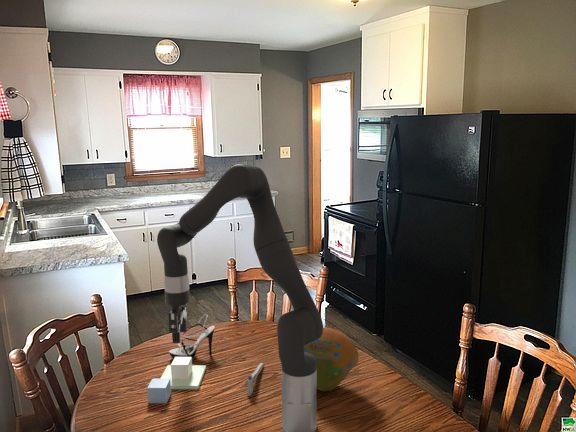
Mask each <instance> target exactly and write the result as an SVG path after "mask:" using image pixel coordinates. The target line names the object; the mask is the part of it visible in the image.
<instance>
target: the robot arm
mask: <svg viewBox="0 0 576 432" xmlns="http://www.w3.org/2000/svg"><path fill="white" fill-rule="evenodd" d="M268 180H269V179H268V178H267V176H266V174H265V172H264V171H263V169H262V168H260V167H259V166H257V165H253V164H246V163H243V164H242V163H237V164H234V165H232V166H231V167H230V168H228V169H227V170H226V171H225V173H223V175H222V176H221V177H220V178H219V179H218V181H217V182H216V183H215V184H214V185H213V186H212V188H211V189H210V190H209V191H208V192H207V193H206V194H205V196H203V197H202V198H201V199H200V200H199V201H198V202H197V203H195V204H194V205H193V206H192V207H191V208H189V209H188V210H187V211H186V212H185V213H183V214H182V215H181V217H180V218H179V222H177V223H176V224H173V225H168V226H165V227H162V228H161V229H160V230H158V233H157V237H156V241H157V242H156V243H157V247H158V249H159V253H160V256H161V260H162V261H163V269H164V278H163V279H164V283H163V284H164V286H163V287H164V299H165V301H164V302H165V304H166V305H167V306H170V307H171V310H170V312H169V313H168V315H167V316H168V332H169V333H171V338H172V343H173V344H179V343H180V344H181V333H184V332H185V333H186V332H187V331H186V330H187V329H188V328H187V320H188V317H189V313H188V312H189V311H188V309H189V308H188V304H189V303H190V301H191V296H190V295H191V293H190V278H189V272H188V260H187V257H186V256H185V255H184V254H181V253H180V254H179V251H178V248H180V247H183V246H185V245H187V244H189V243H190V242H191V241H192V240H193V239H194V238H195V237H196V235H197V234H198V233H199V232H201V231H202V230H204V229H205V228H206V227H208V226H209V225H210V224H212V223H213V221H214V220H215V218H217V216H218V214H219V212H220V210H221V209H222V208H223V207H224V206H225V205H226V204H228V203H229V202H231V201H233V200H236V199H238V198H240V199H246V200H247V202H248V204H249V206H250V209H251V212H252V215H253V219H254V220H253V221H254V222H253V223H254V226H253V227H254V228H253V247H254V252H255V253H256V255H257V258H258V261H259V264H260V266H261V268H262V270H263V272H264V273H265V274H266V275H267V276H268V277H269V278H270V279H271V280H272V281H273V282H275V284H276V285H277V286H279V287H280V288H281V289H282V290H283V291H284V293H285V294H286V296H287V297H288V299H289V302H290V304H291V306H292V309H293V310H290V311H288V312H285V313H283V314H282V315H280V316H279V318H278V321H277V327H276V333H277V348H278V356H279V360H280V364H281V411H282V412H281V417H282V419H281V421H282V425H281V427H282V428H281V429H282V431H283V432H316V431H317V424H318V423H317V421H318V420H317V417H318V415H317V410H318V409H317V403H318V402H317V399H318V398H317V394H318V392H317V391H318V389H317V361H316V358H315V357H314V356H313V355H312V354H310V353H308V352H304V345H306V344H308V343H310V342H313V341H315V340H317V339H319V338H320V337H321V336H322V333H323V328H324V322H323V319H322V316H321V314H320V312H319V309H318V307H317V304H315V302H314V298H313V297H312V295H311V293H310V292H309V290H308V287H307V285H306V283H305V280H304V279H303V276H302V273H301V272H300V269H299V267H298V264H297V262H296V261H297V260H296V258H295V256H294V253H293V249H292V247H291V245H290V242H289V240H288V237H287V235H286V233H285V231H284V228H283V226H282V222H281V220H280V217H279V214H278V212H277V209H276V205H275V202H274V199H273V195H272V191H271V189H270V185H269V181H268Z"/></svg>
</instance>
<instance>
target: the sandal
mask: <svg viewBox="0 0 576 432" xmlns="http://www.w3.org/2000/svg"><path fill="white" fill-rule="evenodd" d="M205 316H206V317H205ZM204 317H205V320H204V322H203V324H201V321H202V319H203V318H204ZM208 317H209V315H208V314H203V315H202V316H201V317H200V318H199V320H198V322H197V323H196V324H193V325H192V326H190V327H189V328H187V330H186V332H188V331H189V330H191V329H192V328H194V327H197V326H200V327H201V328H202V330H201V332H199V333H196V334H191V335H186V332H183V334H182V339H181V341H180V343H177V345H178V347H176V348H173V349H170V350H169V351H168V354H169V355H170V356H171V358H172V359H173V360H174V358H175V357H192V361H193V360H194V359H195V357H196V354H197V350H198V347H199V346H200V345H201V343H202V342H203V341H204V340H205V339H206V338H207V339H208V352H209V353H208V355H212V345H213V344H212V343H213V335H214V331H215V328H216V327H215V325H211V326H209V327H206V324H207V320H208ZM194 337H198V338H197V339H193V338H194ZM184 340H185V341H186V343H184ZM189 341H194V343H189ZM186 345H188V346H186Z"/></svg>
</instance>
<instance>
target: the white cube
mask: <svg viewBox="0 0 576 432" xmlns="http://www.w3.org/2000/svg"><path fill="white" fill-rule="evenodd" d="M170 365H171V376H172V379H188V380H189V377H190V375H191V373H192V365H193V360H192V357H175V358H174V359H173V360H172V362H171V364H170Z"/></svg>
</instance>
